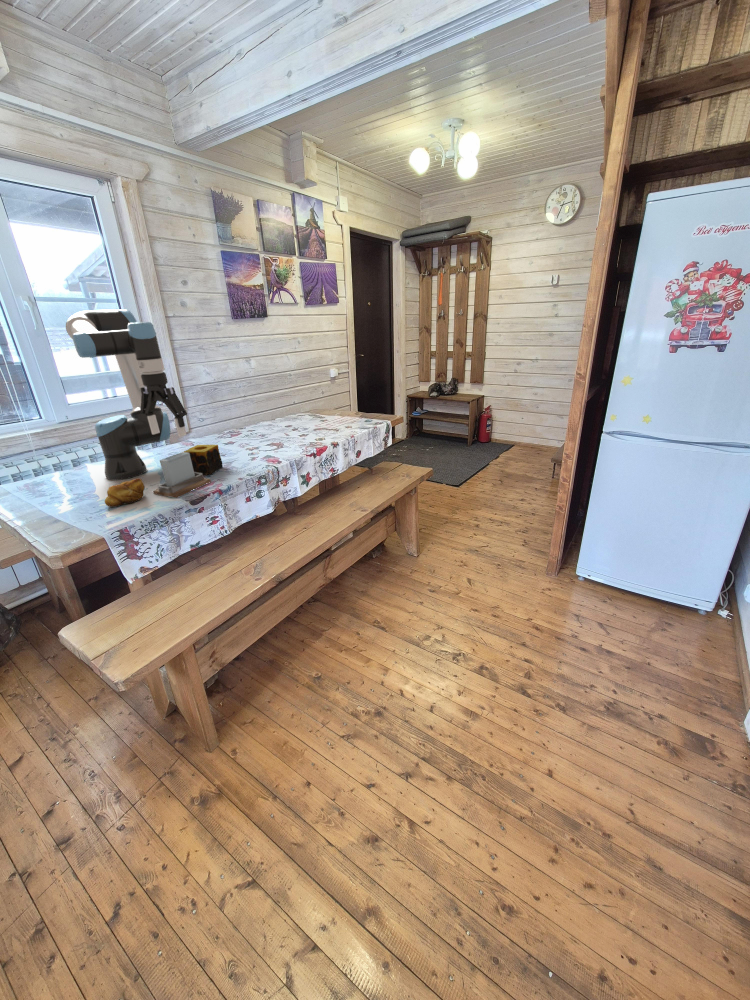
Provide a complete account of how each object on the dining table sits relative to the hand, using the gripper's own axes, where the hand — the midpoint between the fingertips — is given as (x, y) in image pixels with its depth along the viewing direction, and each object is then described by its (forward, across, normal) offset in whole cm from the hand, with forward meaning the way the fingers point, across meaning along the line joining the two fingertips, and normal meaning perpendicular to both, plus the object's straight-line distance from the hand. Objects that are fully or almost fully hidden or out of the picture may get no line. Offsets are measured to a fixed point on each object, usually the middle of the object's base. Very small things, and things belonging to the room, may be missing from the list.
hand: (169, 434), depth 147 cm
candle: (+20, -6, +17) cm, 27 cm away
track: (+20, 0, 0) cm, 20 cm away
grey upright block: (+19, 0, 0) cm, 19 cm away
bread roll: (+20, -9, -16) cm, 28 cm away
